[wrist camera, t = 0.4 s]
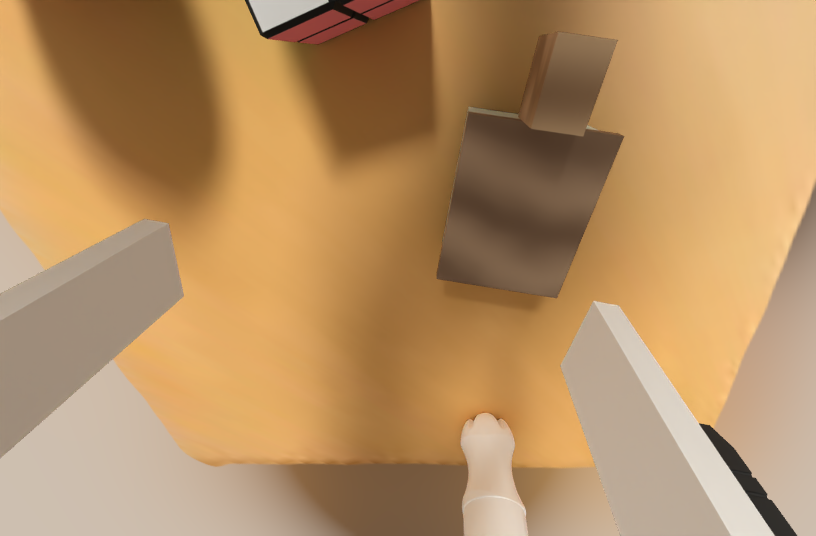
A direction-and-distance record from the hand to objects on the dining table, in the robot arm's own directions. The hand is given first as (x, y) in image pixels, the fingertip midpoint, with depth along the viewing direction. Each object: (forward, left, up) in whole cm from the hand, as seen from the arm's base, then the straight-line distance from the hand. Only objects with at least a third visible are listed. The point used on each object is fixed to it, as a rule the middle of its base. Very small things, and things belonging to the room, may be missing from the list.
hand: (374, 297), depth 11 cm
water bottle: (+37, +14, -25) cm, 47 cm away
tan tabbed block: (+1, +8, -20) cm, 22 cm away
